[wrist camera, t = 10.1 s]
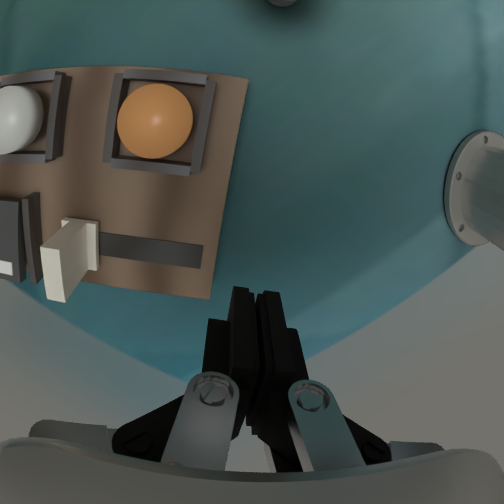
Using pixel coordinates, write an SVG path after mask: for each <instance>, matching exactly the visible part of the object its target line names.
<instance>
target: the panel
mask: <svg viewBox="0 0 504 504" xmlns="http://www.w3.org/2000/svg"><path fill="white" fill-rule="evenodd" d="M248 81H249V79H246V78H240V77H234V76H228V75H222V74H215V73H208V72H200V71H191V70H181V69H170V68H157V67H136V66H89V67H69V68H56V69H46V70H37V71H29V72H22V73H15V74H9V75H4V76H0V89H1V88H3V87H6V86H26V87H31V88H33V89H34V90H35V91H37V93H38V94H39V96H40V97H41V100H42V103H43V112H44V114H43V122H42V126H41V129H40V131H39V133H38V135H37V137H36V138H35V140H34V141H33V142H32V143H31V144H30V145H29V146H28V147H26V148H24V149H21V150H18V151H14V152H11V153H7V154H2V155H1V154H0V198H3V199H13V200H22V214H23V228H24V238H25V264H26V271H29V275H30V281H31V283H32V284H36V285H37V284H38V282H39V281H40V280H41V279H42V278H43V277H44V276H43V269H42V261H41V252H40V246H41V245H43V244H44V243H45V242H46V241H47V240H48V239H49V238H50V237H52V236H53V235H54V234H55V233H56V232H57V231H58V230H60V229H61V228H62V223H61V220H62V219H63V218H65V217H67V218H75V219H83V220H91V221H98V241H99V268H98V270H97V271H94V270H88V271H87V272H86V273H85V275H84V276H83V278H82V279H81V280H80V281H84V282H90V283H96V284H102V285H108V286H114V287H120V288H127V289H133V290H140V291H147V292H154V293H161V294H169V295H176V296H184V297H192V298H200V299H208V300H210V294H211V287H212V280H213V274H214V267H215V261H216V254H217V248H218V242H219V236H220V230H221V224H222V218H223V212H224V206H225V201H226V195H227V189H228V184H229V178H230V173H231V167H232V162H233V156H234V151H235V146H236V141H237V135H238V130H239V125H240V120H241V115H242V110H243V105H244V100H245V95H246V91H247V86H248ZM149 84H165V85H169V86H171V87H173V88H175V89H177V90H178V91H180V92H181V93H182V94H184V95H185V96H186V97H187V99H188V100H189V101H190V103H191V105H192V107H193V111H194V126H193V130H192V132H191V135H190V136H189V138H188V139H187V141H186V142H185V143H184V144H183V145H182V146H181V147H180V148H178V149H177V150H176V151H174V152H173V153H171V154H169V155H167V156H164V157H161V158H154V159H151V158H143V157H140V156H137V155H135V154H134V153H132V152H131V151H129V150H128V149H127V148H126V147H125V146H124V144H123V143H122V141H121V139H120V137H119V134H118V129H117V118H118V113H119V110H120V108H121V106H122V104H123V102H124V101H125V100H126V98H127V97H128V96H129V95H130V94H131V93H132V92H134V91H135V90H137V89H138V88H140V87H143V86H145V85H149Z"/></svg>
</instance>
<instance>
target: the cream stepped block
mask: <svg viewBox="0 0 504 504" xmlns="http://www.w3.org/2000/svg"><path fill="white" fill-rule="evenodd" d="M61 223H62V228H61V229H60V230H58V231H57V232H56V233H55V234H54V235H53V236H52V237H50V238H49V239H48V240H47V241H46V242H45V243H44V244H43V245H41V246H40V252H41V261H42V269H43V276H44V282H45V289H46V294H47V299H50V300H55V301H60V302H64V303H66V301H67V300H68V298H69V297H70V295H71V294H72V292H73V291H74V289H75V288H76V286H77V285H78V283H79V282H80V280H81V279H82V278H83V276H84V275H85V273H86V272H87V271H88V270H94V271H97V270H98V268H99V241H98V221H91V220H83V219H75V218H67V217H65V218H63V219H62V220H61Z"/></svg>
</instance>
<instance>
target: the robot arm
mask: <svg viewBox="0 0 504 504" xmlns="http://www.w3.org/2000/svg"><path fill="white" fill-rule="evenodd" d="M444 202H445V212H446V217H447V221H448V223H449V226H450V228H451V230H452V231H453V233H454V234H455V235H456V236H457V237H458V238H459V239H460V240H462V241H463V242H465V243H466V244H469V245H472V246H479V245H483V244H485V243H487V242H489V241H490V242H491V243H493V244H495V245H496V246H498V247H499V248H501V249H502V250H504V138H503V137H502V136H501V135H499V134H497V133H495V132H491V131H487V130H480V131H477V132H474V133H472V134H471V135H469V136H468V137H466V139H465V140H464V141H463V142H462V143H461V144H460V146H459V147H458V149H457V150H456V152H455V154H454V156H453V158H452V161H451V163H450V166H449V170H448V173H447V178H446V184H445V195H444ZM245 415H246V425H247V426H251V427H252V435H258V438H260V439H261V440H262V441H263V442H265V443H264V450H265V454H266V457H267V461H268V465H269V468H270V473H257V472H256V473H255V472H234V471H225V466H226V462H227V457H228V452H229V447H230V442H231V440H233V439H234V438H236V437H237V436H238V435H239V431H240V429H241V426H242V424H243V421H244V418H245ZM0 504H504V471H503V470H502V468H501V466H500V465H499V463H498V462H497V460H496V459H495V458H494V457H493V456H492V455H490V454H489V453H487V452H484V451H480V450H474V449H449V450H444V449H443V448H442V446H440V445H438V444H436V443H424V442H399V441H390V442H389V443H386V442H384V441H383V440H382V439H381V438H379V437H377V436H376V435H374V434H373V433H371V432H369V431H368V430H366V429H365V428H363V427H361V426H359V425H358V424H357V423H355V422H353V421H352V420H350V419H349V418H347V417H345V416H344V415H343V414H342V413H341V411H340V408H339V406H338V404H337V402H336V400H335V398H334V396H333V394H332V392H331V391H330V389H329V388H327V387H326V386H325V385H323V384H321V383H320V382H317V381H313V380H309V377H308V373H307V369H306V364H305V360H304V356H303V352H302V348H301V343H300V339H299V335H298V332H297V330H296V329H293V328H287V326H286V322H285V317H284V312H283V307H282V302H281V297H280V293H279V292H273V291H266V290H264V292H263V294H259V293H258V295H257V298H256V303H255V299H254V293H251V292H249V288H244V287H237V286H234V287H233V291H232V297H231V302H230V308H229V313H228V319H227V321H225V320H218V319H211V318H209V319H208V327H207V334H206V342H205V350H204V358H203V367H202V373H200V374H197V375H196V376H194V377H193V378H192V379H191V380H190V382H189V383H188V386H187V389H186V391H185V394H184V395H182V396H180V397H178V398H177V399H175V400H173V401H171V402H169V403H167V404H165V405H163V406H161V407H159V408H157V409H155V410H153V411H152V412H150V413H147V414H145V415H143V416H141V417H139V418H137V419H136V420H133V421H131V422H129V423H127V424H125V425H123V426H121V427H120V428H118V429H108V428H107V426H104V425H92V424H81V423H72V422H64V421H55V420H41V421H38V422H36V423H35V424H34V425H33V426H32V427H31V430H30V432H29V437H19V438H11V439H7V440H4V441H2V442H0Z"/></svg>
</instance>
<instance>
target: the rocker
mask: <svg viewBox="0 0 504 504" xmlns="http://www.w3.org/2000/svg"><path fill="white" fill-rule="evenodd" d="M0 278H2V279H6V280H10V281H14V282H19V283H21V282H22V281H24V280H25V279H26V264H25V238H24V228H23V214H22V200H13V199H3V198H0Z"/></svg>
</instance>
